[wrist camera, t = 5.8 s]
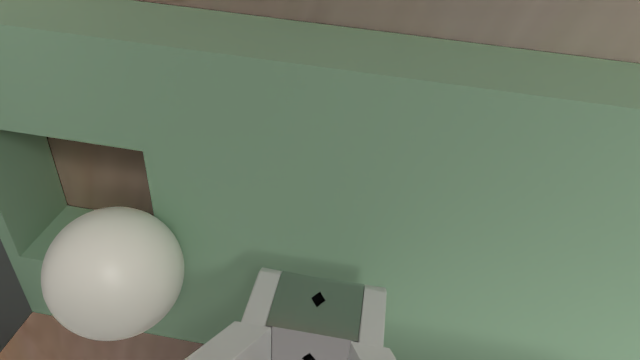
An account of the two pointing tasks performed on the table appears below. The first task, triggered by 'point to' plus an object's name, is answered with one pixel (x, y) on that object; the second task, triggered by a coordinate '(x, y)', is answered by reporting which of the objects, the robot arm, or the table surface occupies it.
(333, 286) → the robot arm
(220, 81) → the putting strip
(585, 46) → the table surface
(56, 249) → the ball
